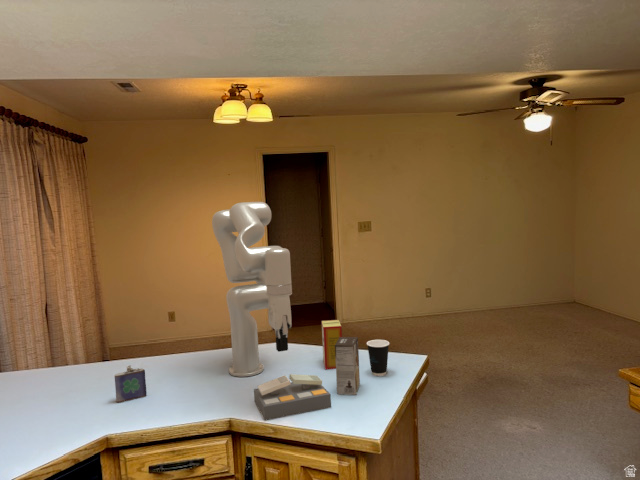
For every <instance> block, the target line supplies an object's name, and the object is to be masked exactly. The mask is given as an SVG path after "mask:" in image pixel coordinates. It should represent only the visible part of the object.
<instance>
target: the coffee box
mask: <svg viewBox="0 0 640 480" xmlns="http://www.w3.org/2000/svg"><path fill="white" fill-rule="evenodd" d="M359 355H360V353H359V336H342V337H339V339H338V341H337V343H336V344H335V357H336V369H335V374H336V394H337V395H343V394H346V395H348V396H349V395H350V396H356V395H357V394H358V390H359V388H360V385H361V380H360V359H359V358H360V356H359ZM346 395H345V396H346Z"/></svg>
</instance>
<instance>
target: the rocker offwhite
mask: <svg viewBox="0 0 640 480" xmlns="http://www.w3.org/2000/svg"><path fill="white" fill-rule="evenodd" d="M290 384H291V380H290V379H289V378H288V376H287V375H282V376H279V377H277V378H274V379H272V380H269V381H266V382H264V383H261V384H259V385H257V388H258V390H259V391H260V393H261V395H262V396H263V395H265V394H268V393H270V392H273V391H275V390H278V389H280V388H283V387H285V386H288V385H290Z"/></svg>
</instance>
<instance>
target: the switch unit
mask: <svg viewBox="0 0 640 480" xmlns="http://www.w3.org/2000/svg"><path fill="white" fill-rule="evenodd" d="M290 383H291V384H290V385H288V386H285V387H283V388H280V389H278V390H275V391H273V392H270V393H268V394H265V395H263V396H262V395H261V393H260V391H259V390H258V387H257V388H253V395H254V396H253V399H254V403H255V405H256V407H257V408H258V410H259V412H260V414H261V416H262V418H263V419H264V421H270V420H274V419H278V418H284V417H289V416H294V415H299V414H304V413H308V412H313V411H314V412H315V411H319V410H323V409H328V408H332V398H331V397H332V396H331V392H329V391H328V390H327V389H326V388H325V386H323V384H322V385H314V384H294V383H293V382H292V381H290Z"/></svg>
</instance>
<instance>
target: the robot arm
mask: <svg viewBox="0 0 640 480" xmlns="http://www.w3.org/2000/svg"><path fill="white" fill-rule="evenodd" d="M271 221H272V210H271V208H270V206H269V205H268V203H266V202H264V201H248V202H247V201H245V202H237V203H235V204H233V205H232V206H231V207H230V209H222V210H219V211H216V212H215V213H214V214H213V215H212V219H211V223H212V224H211V225H212V226H211V227H212V230H213V234H214V237H215V238H216V241H217V242H218V245H219V247H220V250H221V254H222V255H221V256H222V260H223V261H222V262H223V266H224V272H225V275H226V279H227V280H228V282H229V283H232V284H240V283H250V282H255V283H253V284H251V283H250V284H244V285H237V286H233V287H231V288H230V289H228V291H227V292H226V296H225V297H226V305H227V309H228V314H229V322H230V336H231V337H230V339H231V350H232V351H231V352H232V353H231V354H232V355H231V356H232V366H230V368H229V369H228V373H229V374H230V375H231V376H233V377H238V378H241V377H242V378H244V377H252V376H257V375H258V374H261V373H262V372H263V371H264V368H265V367H264V364H263V363H261V362H260V357H259V337H258V334H259V333H258V323H257V320H256V319H255V317H254V316H252V314H251V313H250V312H253V311H259V310H264V309H267V311H268V312H267V316H268V320H267V321H268V325H269V326H270V327H271V328H272V329H273V330H274V331H275V332H274V333H275V348H276V351H277V352H278V353H279V352H285V351H288V350H289V344H288V343H289V342H288V341H289V340H288V335H289V330H290V329H291V328H292V326H293V325H292V324H293V323H292V310H291V309H292V308H291V300H290V299H291V298H290V296H291V295H293V286H292V272H291V271H292V270H291V269H292V267H291V265H292V264H291V253H290V250H289V249H288V248H285V247H284V248H283V247H282V246H281V245H268V246H267V245H265V246H254V247H251V246H253V245H255V244H256V243H259V242H260V241H261V240H262V239H263V238H264V235H265V233H266V232H265V231H266V229H265V227H266V226H268V225H269V224H270V222H271ZM234 233H238V235H237V236H236V234H234Z"/></svg>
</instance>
